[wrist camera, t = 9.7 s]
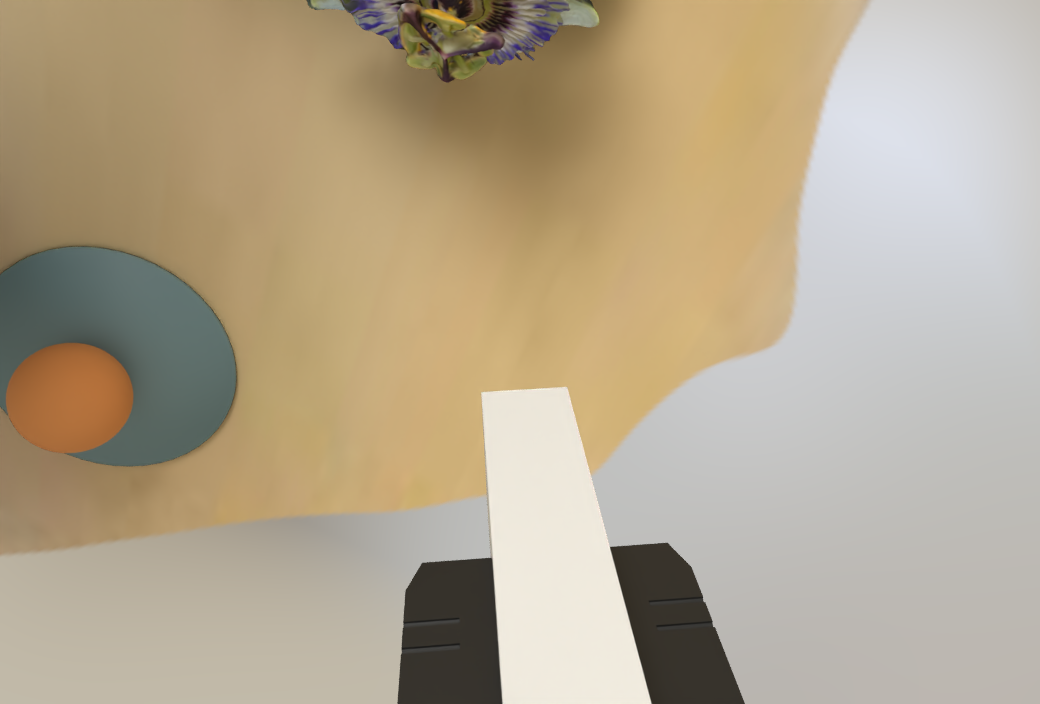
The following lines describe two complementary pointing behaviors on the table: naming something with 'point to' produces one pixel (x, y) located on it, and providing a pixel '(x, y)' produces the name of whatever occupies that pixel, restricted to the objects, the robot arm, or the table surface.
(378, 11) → the passion flower
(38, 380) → the ball
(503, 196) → the table surface
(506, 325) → the table surface
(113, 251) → the mark
